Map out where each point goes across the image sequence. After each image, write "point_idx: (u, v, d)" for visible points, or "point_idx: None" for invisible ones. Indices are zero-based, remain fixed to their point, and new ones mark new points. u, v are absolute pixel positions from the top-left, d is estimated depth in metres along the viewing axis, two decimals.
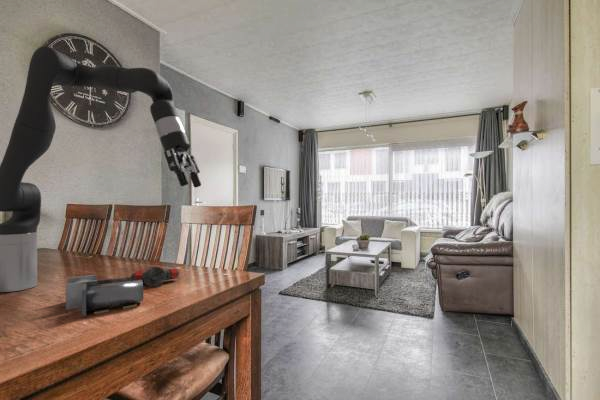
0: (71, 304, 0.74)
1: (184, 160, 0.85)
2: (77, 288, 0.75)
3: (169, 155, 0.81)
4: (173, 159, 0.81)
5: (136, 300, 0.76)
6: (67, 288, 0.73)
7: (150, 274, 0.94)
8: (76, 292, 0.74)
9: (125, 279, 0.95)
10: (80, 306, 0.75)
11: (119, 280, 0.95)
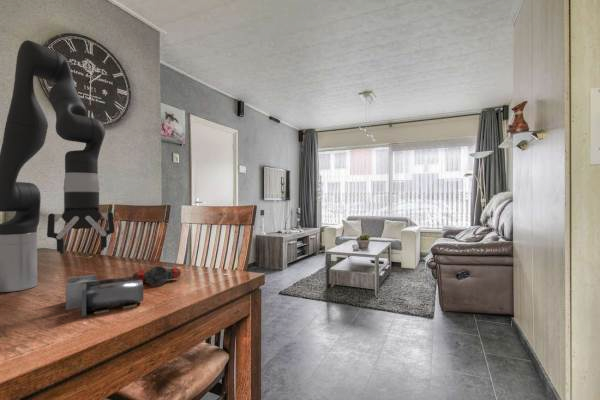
0: (71, 304, 0.74)
1: (69, 225, 0.76)
2: (77, 288, 0.75)
3: None
4: None
5: (136, 300, 0.76)
6: (67, 288, 0.73)
7: (152, 273, 0.95)
8: (76, 292, 0.74)
9: (127, 279, 0.96)
10: (80, 306, 0.75)
11: (121, 280, 0.95)
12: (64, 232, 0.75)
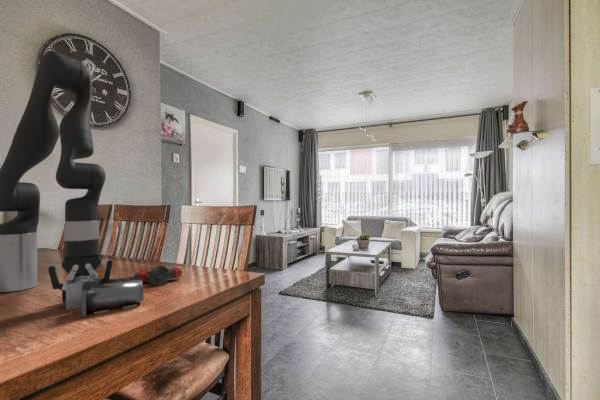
0: (71, 304, 0.74)
1: (72, 275, 0.76)
2: (77, 288, 0.75)
3: None
4: None
5: (136, 300, 0.76)
6: (67, 288, 0.73)
7: (154, 272, 0.95)
8: (76, 292, 0.74)
9: (129, 278, 0.96)
10: (80, 306, 0.75)
11: (122, 280, 0.95)
12: (68, 282, 0.76)
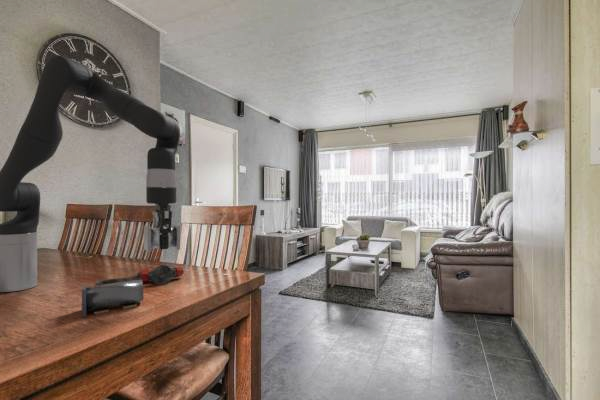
0: None
1: None
2: None
3: (166, 217, 0.76)
4: (169, 223, 0.77)
5: (136, 300, 0.76)
6: (179, 229, 0.81)
7: (157, 272, 0.96)
8: None
9: (131, 278, 0.96)
10: None
11: (125, 279, 0.96)
12: None
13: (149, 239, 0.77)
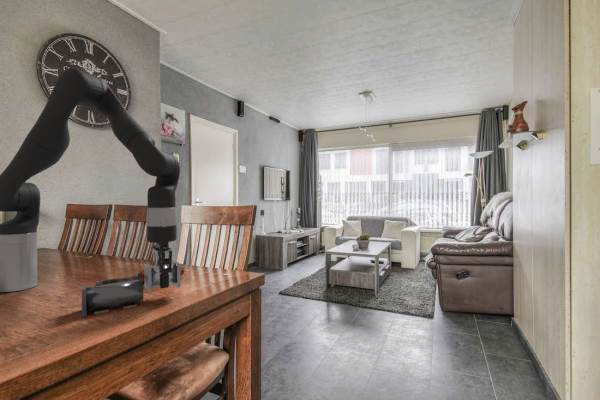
0: None
1: None
2: None
3: (166, 258, 0.76)
4: (169, 263, 0.77)
5: (136, 300, 0.76)
6: None
7: None
8: None
9: (131, 278, 0.96)
10: None
11: (125, 279, 0.96)
12: (169, 265, 0.80)
13: (149, 279, 0.77)
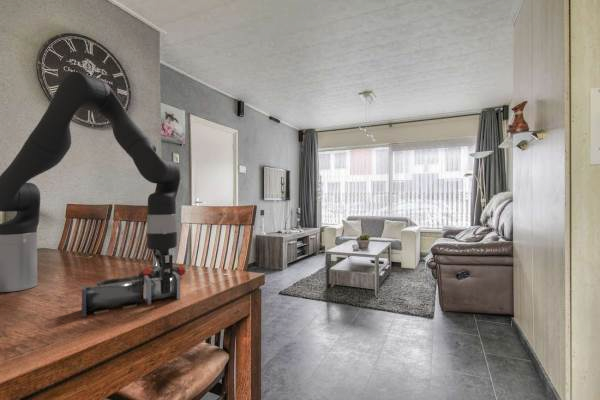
0: None
1: None
2: None
3: (167, 262, 0.76)
4: (170, 267, 0.76)
5: (136, 300, 0.76)
6: (179, 279, 0.81)
7: None
8: None
9: (133, 278, 0.97)
10: None
11: (126, 279, 0.96)
12: (169, 271, 0.79)
13: (149, 292, 0.77)
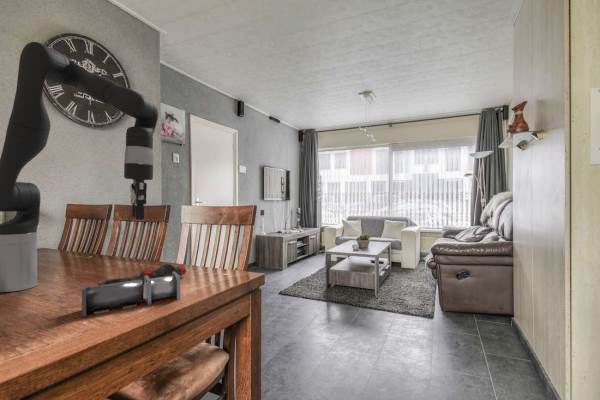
0: None
1: None
2: None
3: (141, 188, 0.81)
4: (144, 194, 0.82)
5: (136, 300, 0.76)
6: (179, 279, 0.81)
7: (161, 271, 0.97)
8: None
9: (134, 278, 0.97)
10: None
11: (128, 279, 0.96)
12: None
13: (149, 292, 0.77)
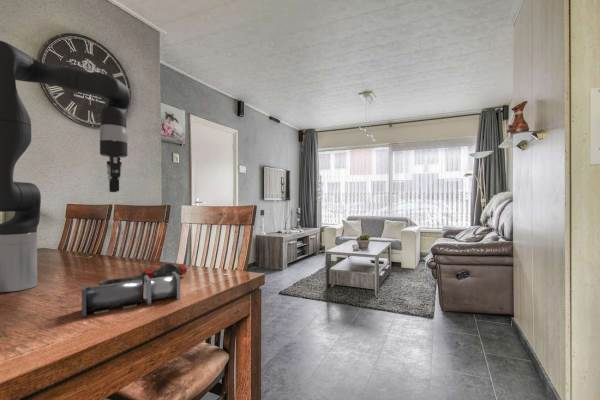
0: None
1: (120, 169, 0.93)
2: None
3: (115, 162, 0.89)
4: (118, 167, 0.89)
5: (136, 300, 0.76)
6: (179, 279, 0.81)
7: (163, 270, 0.98)
8: None
9: (135, 277, 0.97)
10: None
11: (129, 279, 0.96)
12: None
13: (149, 292, 0.77)
